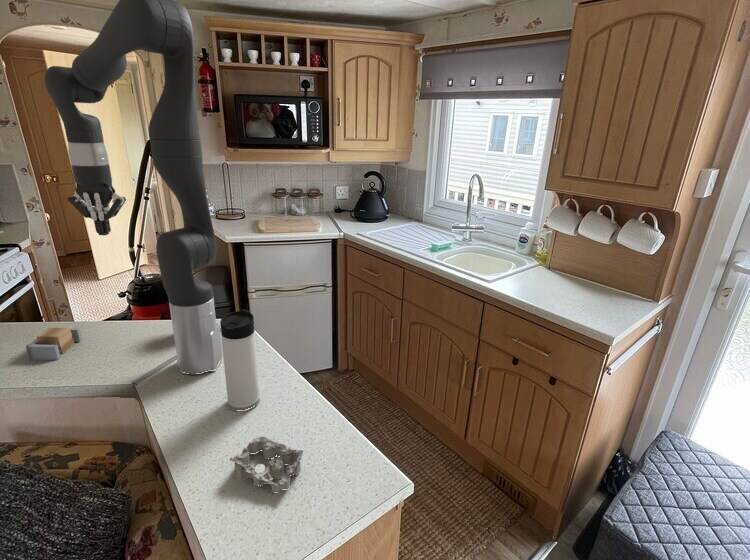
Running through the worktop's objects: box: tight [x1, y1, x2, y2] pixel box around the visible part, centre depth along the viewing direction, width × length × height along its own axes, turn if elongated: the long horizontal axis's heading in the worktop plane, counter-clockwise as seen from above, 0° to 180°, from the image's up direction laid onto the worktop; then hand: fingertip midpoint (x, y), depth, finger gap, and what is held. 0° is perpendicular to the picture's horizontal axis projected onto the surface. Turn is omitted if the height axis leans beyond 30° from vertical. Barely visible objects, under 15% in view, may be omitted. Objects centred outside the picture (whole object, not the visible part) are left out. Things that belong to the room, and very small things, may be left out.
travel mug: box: [219, 308, 260, 411], centre depth 84 cm, size 6×7×20 cm
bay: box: [25, 327, 83, 361], centre depth 103 cm, size 6×10×4 cm
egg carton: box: [229, 436, 304, 493], centre depth 70 cm, size 11×8×4 cm
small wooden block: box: [35, 327, 76, 355], centre depth 103 cm, size 5×6×5 cm
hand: (104, 234), depth 104 cm, fingers closed
